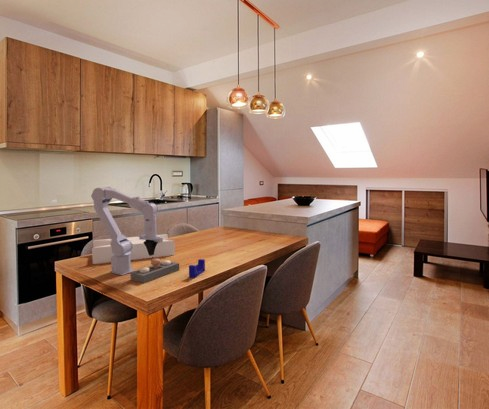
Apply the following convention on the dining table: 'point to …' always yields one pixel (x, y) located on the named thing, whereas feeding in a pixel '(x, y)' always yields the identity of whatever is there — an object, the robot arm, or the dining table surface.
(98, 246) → the building model
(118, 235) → the robot arm
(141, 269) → the knob near
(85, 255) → the dining table surface
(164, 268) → the mount
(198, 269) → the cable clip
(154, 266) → the knob middle
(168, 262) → the knob far
